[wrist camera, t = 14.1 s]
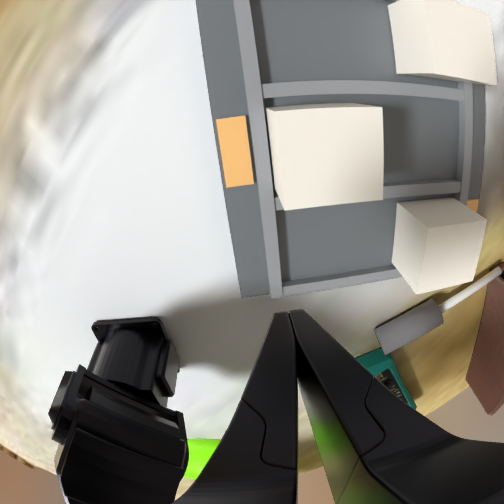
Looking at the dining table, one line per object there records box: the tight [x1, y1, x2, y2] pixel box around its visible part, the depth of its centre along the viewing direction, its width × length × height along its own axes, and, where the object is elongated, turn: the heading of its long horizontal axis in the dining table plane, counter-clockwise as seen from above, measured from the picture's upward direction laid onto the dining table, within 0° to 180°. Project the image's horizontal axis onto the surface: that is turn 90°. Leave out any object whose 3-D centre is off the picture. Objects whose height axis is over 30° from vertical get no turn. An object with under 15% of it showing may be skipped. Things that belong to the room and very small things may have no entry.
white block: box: [392, 198, 487, 295], centre depth 18 cm, size 5×5×4 cm
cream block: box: [265, 103, 384, 211], centre depth 15 cm, size 5×5×4 cm
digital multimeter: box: [356, 348, 417, 409], centre depth 30 cm, size 7×15×3 cm, turn 34°
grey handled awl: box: [374, 267, 502, 355], centre depth 24 cm, size 14×3×3 cm
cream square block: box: [388, 0, 497, 86], centre depth 12 cm, size 5×5×4 cm
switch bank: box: [196, 0, 485, 299], centre depth 17 cm, size 19×20×2 cm
